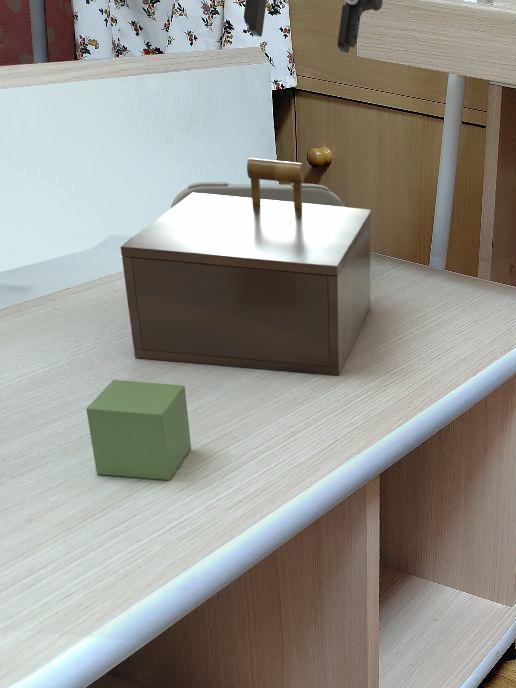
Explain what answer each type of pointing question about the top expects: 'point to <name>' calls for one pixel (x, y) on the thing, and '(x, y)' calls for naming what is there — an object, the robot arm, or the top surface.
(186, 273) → the chest
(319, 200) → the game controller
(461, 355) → the top surface
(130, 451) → the block
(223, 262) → the lid
